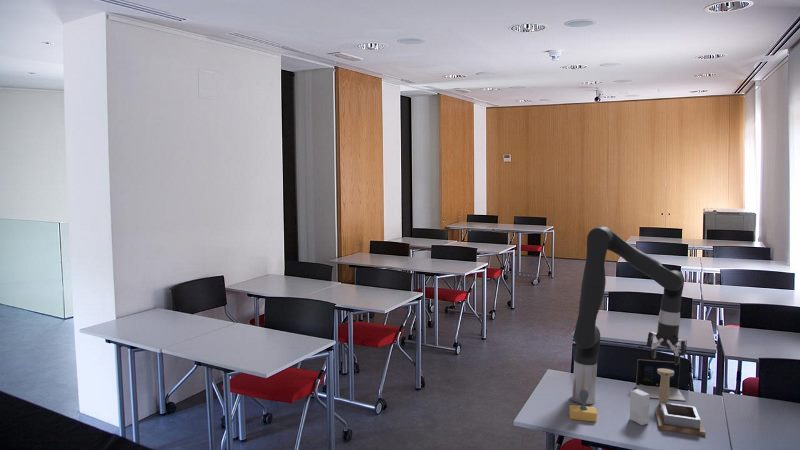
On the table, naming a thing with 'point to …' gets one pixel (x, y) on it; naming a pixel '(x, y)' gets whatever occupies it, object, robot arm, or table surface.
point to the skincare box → (639, 406)
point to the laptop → (657, 378)
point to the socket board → (679, 419)
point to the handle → (664, 384)
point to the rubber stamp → (583, 409)
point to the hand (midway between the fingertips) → (664, 361)
